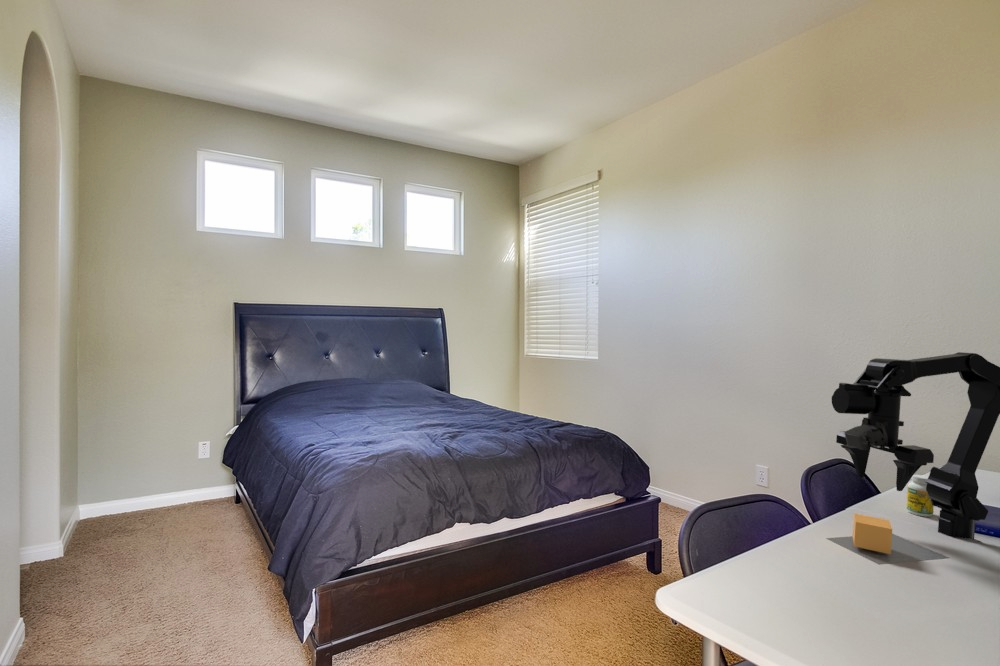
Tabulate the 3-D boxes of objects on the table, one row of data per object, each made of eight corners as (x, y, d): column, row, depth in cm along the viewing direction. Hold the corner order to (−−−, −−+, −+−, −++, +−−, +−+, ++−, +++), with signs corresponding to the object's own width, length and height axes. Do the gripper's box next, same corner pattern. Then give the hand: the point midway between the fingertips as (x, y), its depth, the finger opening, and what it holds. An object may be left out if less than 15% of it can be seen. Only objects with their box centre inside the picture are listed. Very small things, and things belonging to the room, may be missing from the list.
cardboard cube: (852, 536, 112) (853, 513, 112) (887, 543, 109) (888, 520, 109) (854, 546, 107) (855, 522, 107) (890, 554, 104) (892, 529, 103)
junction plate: (891, 540, 117) (892, 533, 117) (949, 565, 105) (949, 557, 105) (825, 545, 112) (825, 538, 112) (878, 571, 101) (878, 564, 101)
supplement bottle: (936, 515, 135) (938, 478, 134) (927, 518, 132) (930, 480, 132) (911, 508, 139) (913, 472, 139) (902, 511, 136) (904, 474, 136)
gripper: (819, 407, 125) (815, 473, 125) (895, 423, 107) (891, 499, 107) (857, 407, 127) (853, 471, 128) (938, 423, 109) (933, 497, 110)
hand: (879, 484), depth 118 cm, fingers open, 9 cm apart
